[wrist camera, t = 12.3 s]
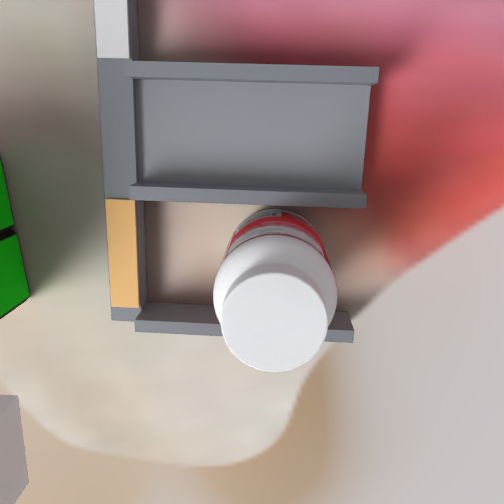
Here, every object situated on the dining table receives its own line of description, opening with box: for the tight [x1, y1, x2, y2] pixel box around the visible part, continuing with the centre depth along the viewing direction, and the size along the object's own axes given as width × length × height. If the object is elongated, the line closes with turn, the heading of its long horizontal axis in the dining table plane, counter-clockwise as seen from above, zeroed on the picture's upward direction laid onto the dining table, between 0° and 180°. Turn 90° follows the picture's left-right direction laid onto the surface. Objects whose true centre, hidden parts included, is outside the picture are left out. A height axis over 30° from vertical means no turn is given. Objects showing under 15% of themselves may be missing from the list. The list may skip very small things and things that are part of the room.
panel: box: [94, 0, 379, 343], centre depth 28 cm, size 24×16×3 cm, turn 178°
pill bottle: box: [213, 209, 337, 372], centre depth 26 cm, size 6×6×11 cm
